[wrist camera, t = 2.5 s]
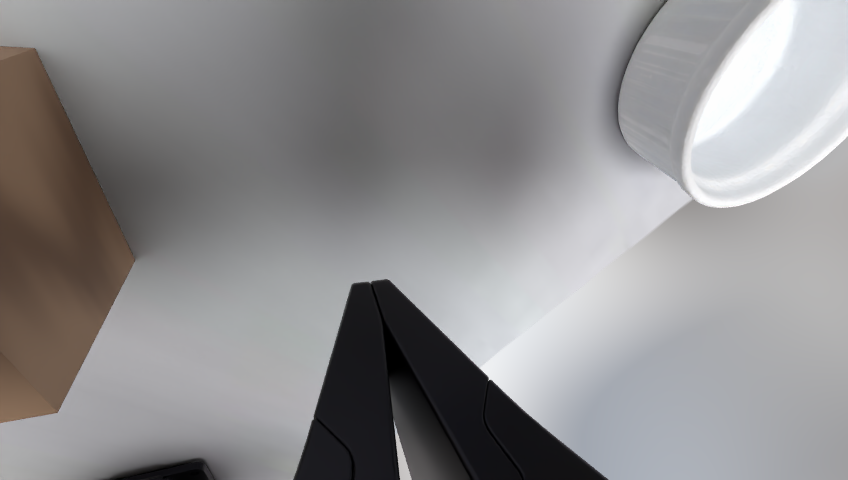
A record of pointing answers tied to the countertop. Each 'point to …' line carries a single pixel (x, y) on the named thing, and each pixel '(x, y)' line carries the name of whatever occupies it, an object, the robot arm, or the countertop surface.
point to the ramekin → (738, 94)
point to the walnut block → (48, 244)
